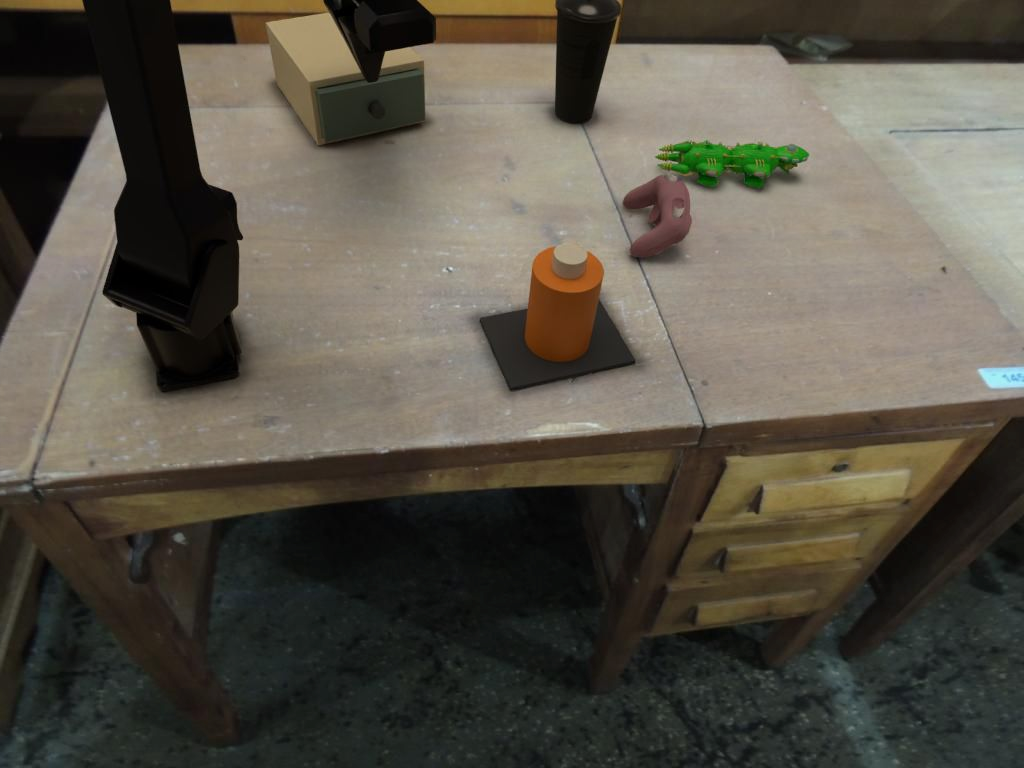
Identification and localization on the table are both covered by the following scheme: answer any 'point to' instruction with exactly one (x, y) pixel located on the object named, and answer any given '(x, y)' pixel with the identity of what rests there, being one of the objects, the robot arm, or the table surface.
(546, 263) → the orange bottle
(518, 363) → the mat
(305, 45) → the cabinet
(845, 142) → the table surface
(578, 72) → the drinking cup
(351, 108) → the drawer
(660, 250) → the video game controller
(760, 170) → the crocodile figurine
